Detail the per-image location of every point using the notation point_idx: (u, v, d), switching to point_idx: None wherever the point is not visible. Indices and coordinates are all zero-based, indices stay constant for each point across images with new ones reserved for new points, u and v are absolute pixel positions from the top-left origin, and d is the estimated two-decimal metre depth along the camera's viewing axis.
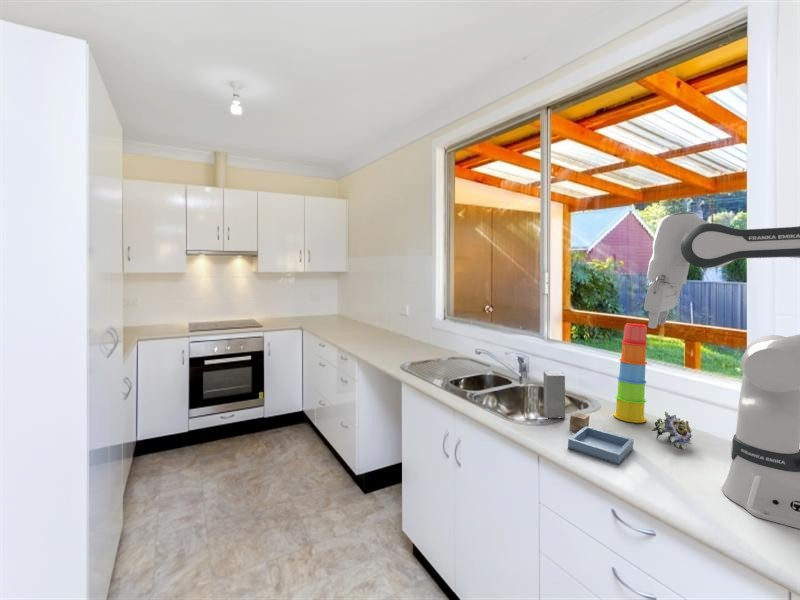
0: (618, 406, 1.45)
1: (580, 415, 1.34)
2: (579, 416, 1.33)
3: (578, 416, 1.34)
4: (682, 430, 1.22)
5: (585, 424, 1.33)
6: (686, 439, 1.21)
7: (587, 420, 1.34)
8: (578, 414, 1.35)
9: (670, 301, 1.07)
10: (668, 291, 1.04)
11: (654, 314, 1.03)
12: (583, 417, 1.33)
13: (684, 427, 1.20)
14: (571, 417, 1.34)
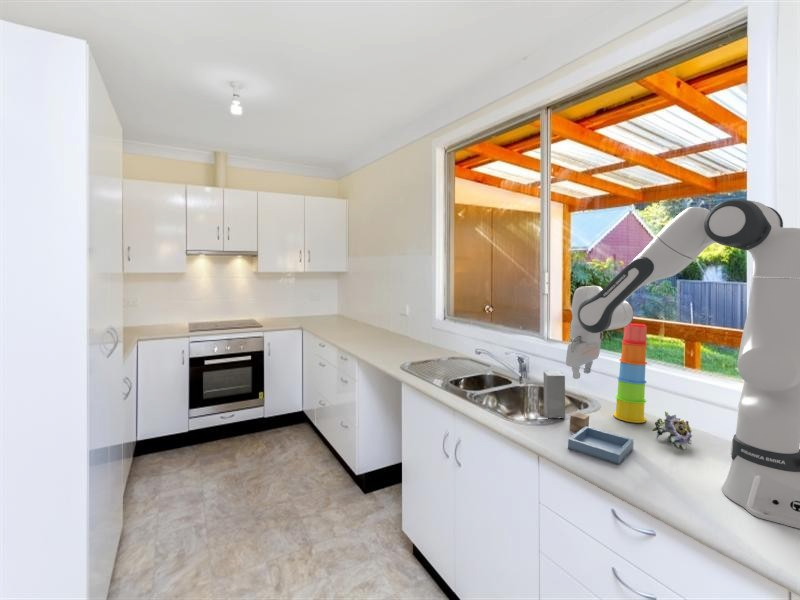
0: (618, 406, 1.45)
1: (580, 415, 1.34)
2: (579, 416, 1.33)
3: (578, 416, 1.34)
4: (682, 430, 1.22)
5: (585, 424, 1.33)
6: (686, 439, 1.21)
7: (587, 420, 1.34)
8: (578, 414, 1.35)
9: (590, 355, 1.32)
10: (585, 348, 1.30)
11: (575, 367, 1.28)
12: (583, 417, 1.33)
13: (684, 427, 1.20)
14: (571, 417, 1.34)
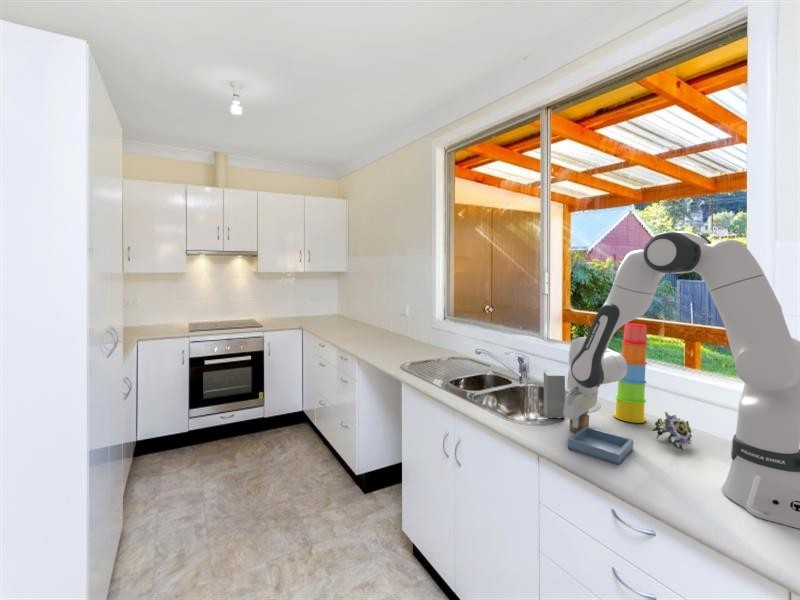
0: (618, 406, 1.45)
1: (580, 415, 1.34)
2: (579, 416, 1.33)
3: None
4: (682, 430, 1.22)
5: (585, 423, 1.33)
6: (686, 439, 1.21)
7: (587, 420, 1.34)
8: None
9: (587, 404, 1.34)
10: (583, 398, 1.31)
11: None
12: (583, 417, 1.33)
13: (684, 427, 1.20)
14: None
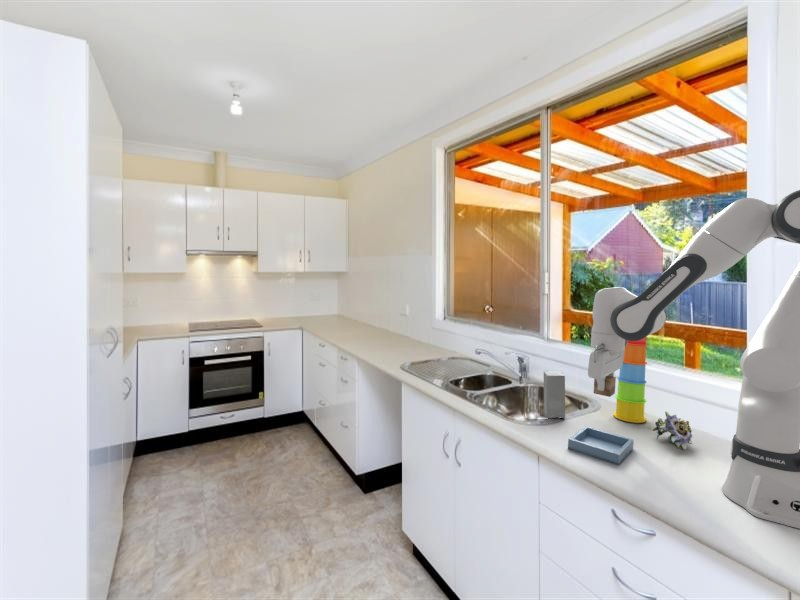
0: (618, 406, 1.45)
1: (606, 377, 1.19)
2: None
3: None
4: (683, 430, 1.22)
5: (612, 386, 1.17)
6: (687, 439, 1.21)
7: (613, 382, 1.18)
8: None
9: (613, 364, 1.18)
10: (609, 357, 1.16)
11: None
12: (609, 378, 1.17)
13: (685, 427, 1.20)
14: (595, 379, 1.19)
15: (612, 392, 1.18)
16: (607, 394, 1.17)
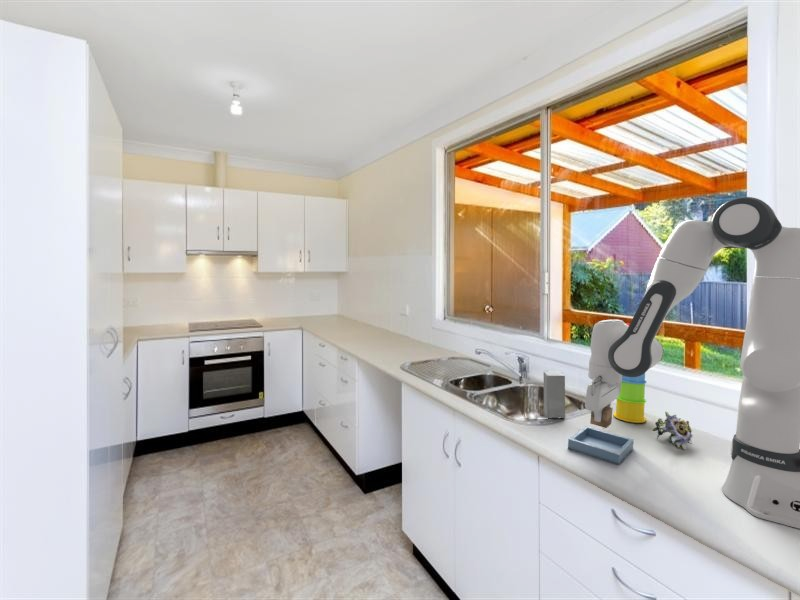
0: (618, 406, 1.45)
1: (603, 408, 1.20)
2: None
3: None
4: (683, 430, 1.22)
5: (609, 417, 1.18)
6: (687, 439, 1.21)
7: (610, 413, 1.19)
8: None
9: (611, 396, 1.19)
10: (606, 389, 1.17)
11: None
12: (606, 409, 1.18)
13: (685, 427, 1.20)
14: None
15: (609, 423, 1.19)
16: (604, 425, 1.18)
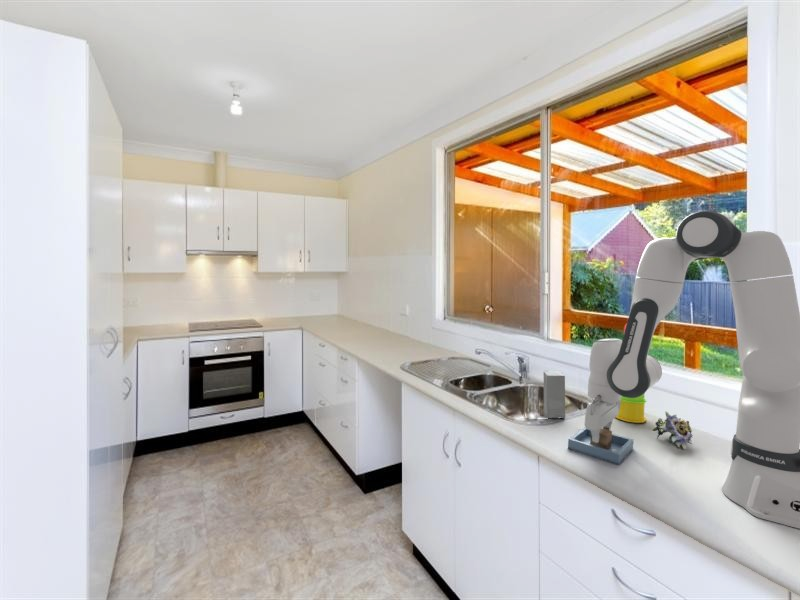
0: None
1: (602, 431, 1.20)
2: (601, 432, 1.19)
3: (600, 432, 1.20)
4: (683, 430, 1.22)
5: (608, 440, 1.19)
6: (687, 439, 1.21)
7: (610, 436, 1.20)
8: None
9: (610, 414, 1.20)
10: (606, 408, 1.17)
11: None
12: (605, 433, 1.19)
13: (685, 427, 1.20)
14: None
15: (608, 446, 1.19)
16: None
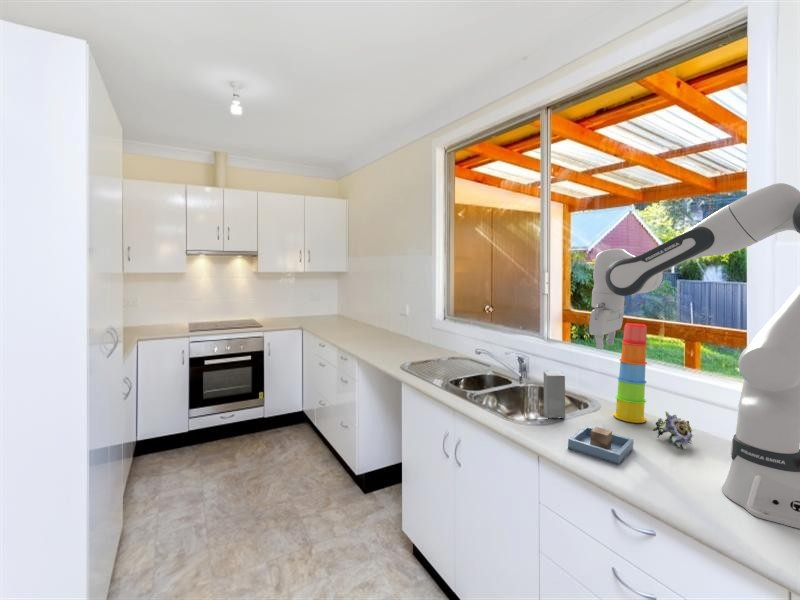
0: (618, 406, 1.45)
1: (602, 431, 1.20)
2: (601, 432, 1.19)
3: (600, 432, 1.20)
4: (683, 430, 1.22)
5: (608, 440, 1.19)
6: (687, 439, 1.21)
7: (610, 436, 1.20)
8: (599, 429, 1.21)
9: (613, 324, 1.23)
10: (609, 316, 1.21)
11: (599, 336, 1.19)
12: (605, 433, 1.19)
13: (685, 427, 1.20)
14: (592, 433, 1.20)
15: (608, 446, 1.19)
16: None
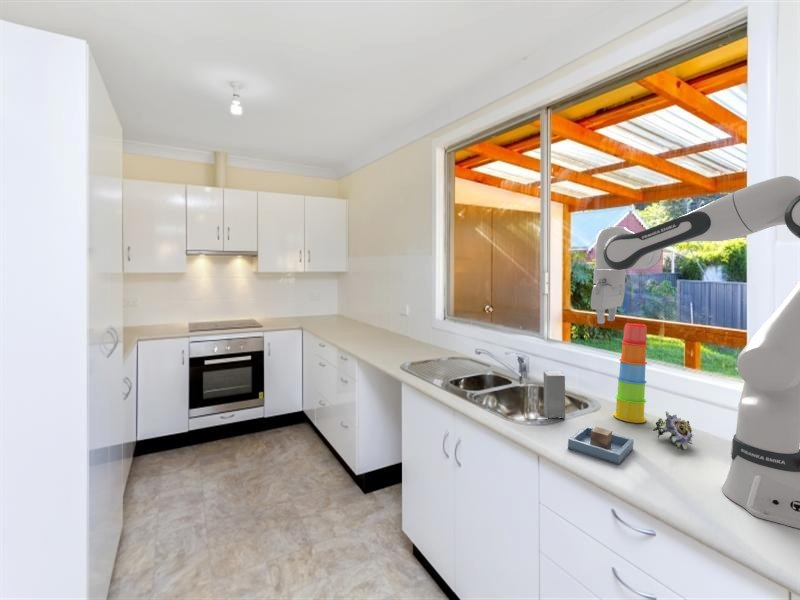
0: (618, 406, 1.45)
1: (602, 431, 1.20)
2: (601, 432, 1.19)
3: (600, 432, 1.20)
4: (683, 430, 1.22)
5: (608, 440, 1.19)
6: (687, 439, 1.21)
7: (610, 436, 1.20)
8: (599, 429, 1.21)
9: (614, 300, 1.27)
10: (610, 292, 1.25)
11: (600, 311, 1.23)
12: (605, 433, 1.19)
13: (685, 427, 1.20)
14: (592, 433, 1.20)
15: (608, 446, 1.19)
16: None
